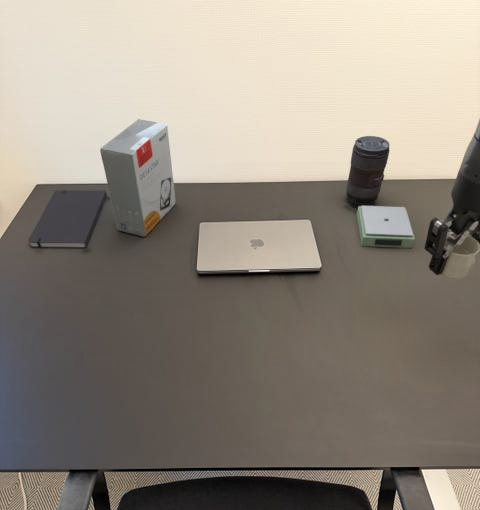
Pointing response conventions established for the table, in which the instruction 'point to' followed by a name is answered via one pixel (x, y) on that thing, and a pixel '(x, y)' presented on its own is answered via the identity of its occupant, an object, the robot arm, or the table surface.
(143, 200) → the hard drive box
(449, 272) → the beige cup
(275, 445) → the table surface
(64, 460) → the table surface
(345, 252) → the table surface
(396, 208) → the scale
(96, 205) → the notebook
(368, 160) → the camera lens
